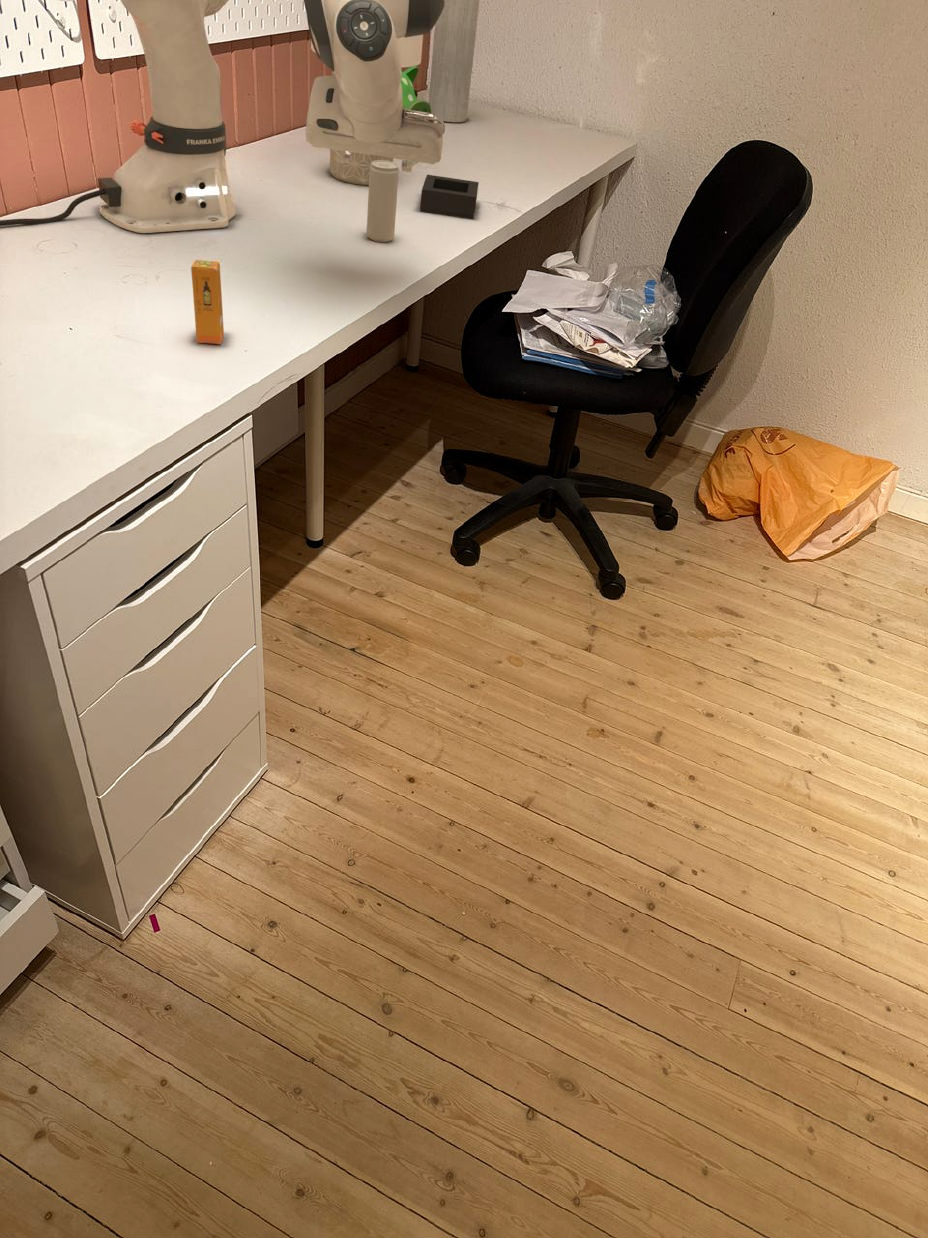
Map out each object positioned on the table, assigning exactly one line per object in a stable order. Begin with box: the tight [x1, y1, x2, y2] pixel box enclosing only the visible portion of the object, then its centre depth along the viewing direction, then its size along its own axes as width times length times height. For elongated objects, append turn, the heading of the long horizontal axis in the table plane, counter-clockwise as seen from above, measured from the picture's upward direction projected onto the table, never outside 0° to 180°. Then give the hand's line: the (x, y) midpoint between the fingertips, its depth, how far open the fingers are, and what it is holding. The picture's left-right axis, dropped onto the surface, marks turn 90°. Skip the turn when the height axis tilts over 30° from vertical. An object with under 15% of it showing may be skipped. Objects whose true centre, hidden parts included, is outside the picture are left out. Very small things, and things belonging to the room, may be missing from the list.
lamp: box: [310, 34, 424, 186], centre depth 174 cm, size 21×21×42 cm
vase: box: [427, 0, 480, 124], centre depth 226 cm, size 10×10×27 cm
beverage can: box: [366, 160, 400, 243], centre depth 157 cm, size 5×5×12 cm
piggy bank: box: [400, 65, 431, 114], centre depth 206 cm, size 14×18×15 cm
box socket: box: [419, 174, 479, 220], centre depth 177 cm, size 10×10×4 cm
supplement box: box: [190, 259, 225, 345], centre depth 120 cm, size 3×3×10 cm
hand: (377, 163), depth 144 cm, fingers open, 8 cm apart
